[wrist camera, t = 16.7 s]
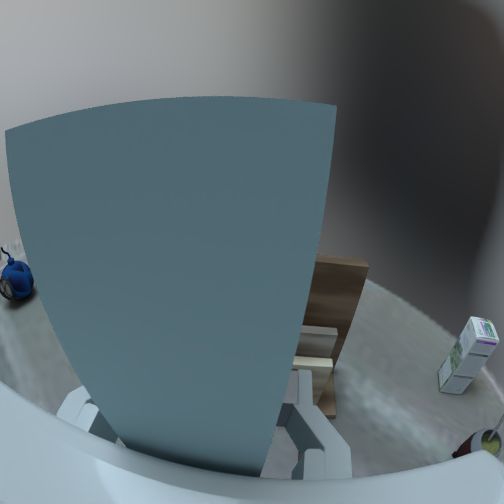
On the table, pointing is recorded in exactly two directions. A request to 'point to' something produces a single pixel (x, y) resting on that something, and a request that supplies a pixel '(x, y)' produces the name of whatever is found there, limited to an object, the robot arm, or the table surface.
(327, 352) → the offcut stack
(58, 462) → the robot arm
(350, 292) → the offcut rack
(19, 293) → the bomb
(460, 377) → the syrup box
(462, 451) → the mate gourd
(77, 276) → the light blue tall block
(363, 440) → the table surface
